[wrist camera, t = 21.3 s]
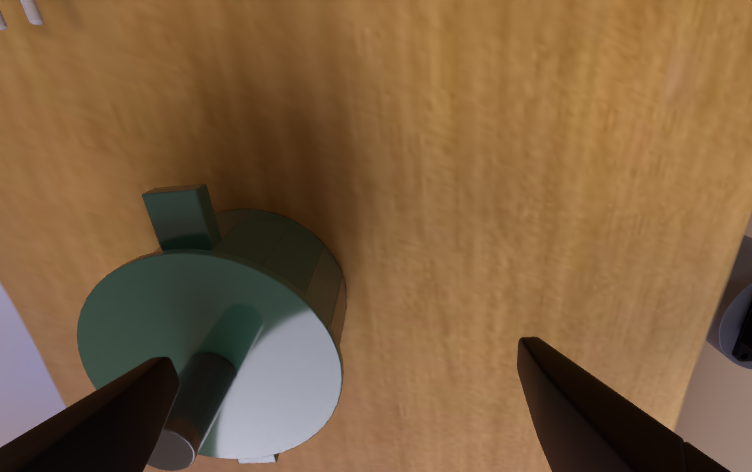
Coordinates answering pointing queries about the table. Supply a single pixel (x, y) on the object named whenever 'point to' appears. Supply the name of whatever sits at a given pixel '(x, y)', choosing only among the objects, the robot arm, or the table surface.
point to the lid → (216, 352)
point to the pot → (251, 247)
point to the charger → (30, 11)
